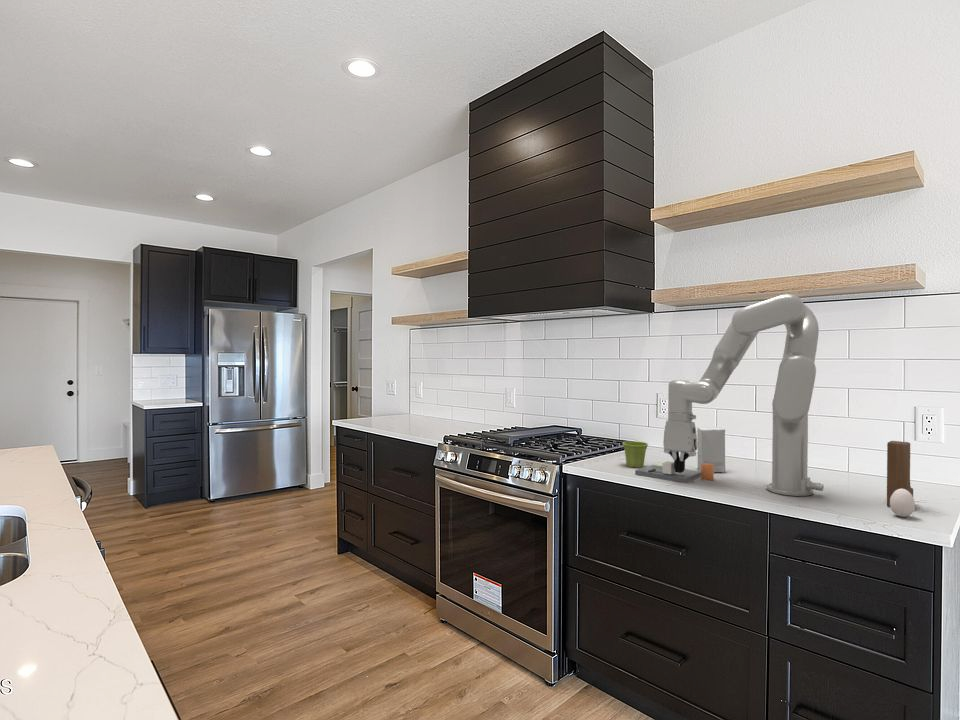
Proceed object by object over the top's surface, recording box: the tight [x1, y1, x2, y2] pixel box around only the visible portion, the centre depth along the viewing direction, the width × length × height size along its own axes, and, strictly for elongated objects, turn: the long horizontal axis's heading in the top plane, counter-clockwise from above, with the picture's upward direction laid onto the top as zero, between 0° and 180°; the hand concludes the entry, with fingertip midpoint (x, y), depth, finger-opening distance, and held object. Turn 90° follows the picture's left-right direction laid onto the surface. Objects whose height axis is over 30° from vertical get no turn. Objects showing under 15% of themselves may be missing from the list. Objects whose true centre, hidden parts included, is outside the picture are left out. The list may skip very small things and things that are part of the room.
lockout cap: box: [700, 463, 715, 481], centre depth 190 cm, size 4×4×5 cm
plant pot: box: [622, 440, 649, 468], centre depth 211 cm, size 9×9×9 cm
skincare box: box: [696, 426, 726, 474], centre depth 202 cm, size 8×7×16 cm
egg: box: [889, 489, 916, 518], centre depth 146 cm, size 5×5×7 cm
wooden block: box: [886, 440, 914, 508], centre depth 157 cm, size 9×4×18 cm, turn 133°
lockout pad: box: [651, 462, 663, 469], centre depth 202 cm, size 6×6×1 cm
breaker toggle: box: [661, 460, 676, 474], centre depth 191 cm, size 3×4×4 cm
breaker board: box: [634, 464, 701, 484], centre depth 196 cm, size 18×14×2 cm
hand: (679, 471), depth 188 cm, fingers closed
